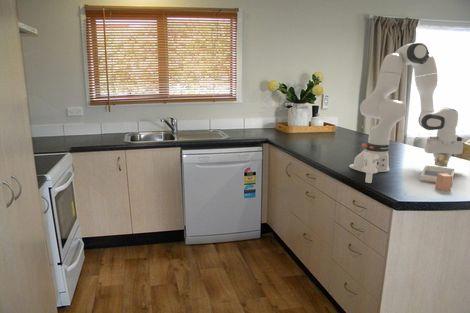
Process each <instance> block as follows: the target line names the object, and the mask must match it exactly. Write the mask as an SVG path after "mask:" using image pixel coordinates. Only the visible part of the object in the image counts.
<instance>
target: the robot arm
mask: <svg viewBox="0 0 470 313" xmlns="http://www.w3.org/2000/svg"><path fill="white" fill-rule="evenodd" d="M405 66H411V67H412V68H413V70H414V80H415V86H416V89H417V91H418V93H419V99H420V114H419V117H418V124H419V126H420V127H421V128H423V129H424V130H426V131H436V130H437V132H436V136H429V137H428V138H427V139H426V143H425V146H424V152H425V153H427V154H433V157H434V159H433V160H434V162H435V161H439V158H437V155H438V154H449V158H448V162H449V161H450V159H451V157H452V156H453V155H461V154H462V153H463V150H464V143H463V142H464V137H461V136H459V135H456V132H457V131H456V128H457V126H458V123H459V122H458V120H459V112H458V111H457V109H454V108H450V107H442V108H440V109H438V110H436V111H435V110H434V98H433V95H434V91H435V90H436V87H437V86H438V70H437V69H438V68H437V63H436V60H435V57H434V56H433V55H432V54H430V52H429V49H428V47H427V45H426V44H425V43H423V42H418V41H416V42H413V43H406V44H404V45H402V46H400V47H398V48H397V49H395V50H394V52H393V53H389V54H387V55H386V56H385V57H384V59H383V61H382V64H381V67H380V70H379V74H378V79H377V82H376V85H375V88H374V89H373V91H372V92H371V94H370V95H369V96H368V97H367V98H365V99H363V100H362V102H360V104H359V105H360V106H359V111H360V114H361V115H362V116H364V117H366V118H371V119H378V120H379V122H378V124H376V125H374V126H372V127H371V128H370V129H369V131H368V139H367V140H368V141H367V142H366V143H362V144H361V146H362V148H364V150H362V151H361V152H360V153H359V154H357V155H356V156H355V158H354V161H353V163H352V164H349V165H348V166H349V168H350V169H352V170H355V171H358V172H362V173H364V172H363V171H362V168H364V164H365V160H364V159H363V158H364V152H369V153H371V154H377V155H379V158H378V159H376V160H377V165H376V169H377V170H378V171H377V173H382V172H383V173H385V172H390V167H389V164H390V163H389V162H390V160H389V156H390V155H389V152H390V146H391V145H390V139H391V133H392V130H393V128H394V126H395V125H396V124H397V123H399V121H401V120H403V119H404V118H405V116H406V114H407V112H408V108H407V105H406V103H404V101H400V100H397V99H396V100H395V99H387V98H388V97H389V95H390V94H394V93H395V92H396V91H397V90H398V89H399V85H400V82H401V77H402V73H403V68H404V67H405ZM367 156H368V155H367Z"/></svg>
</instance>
